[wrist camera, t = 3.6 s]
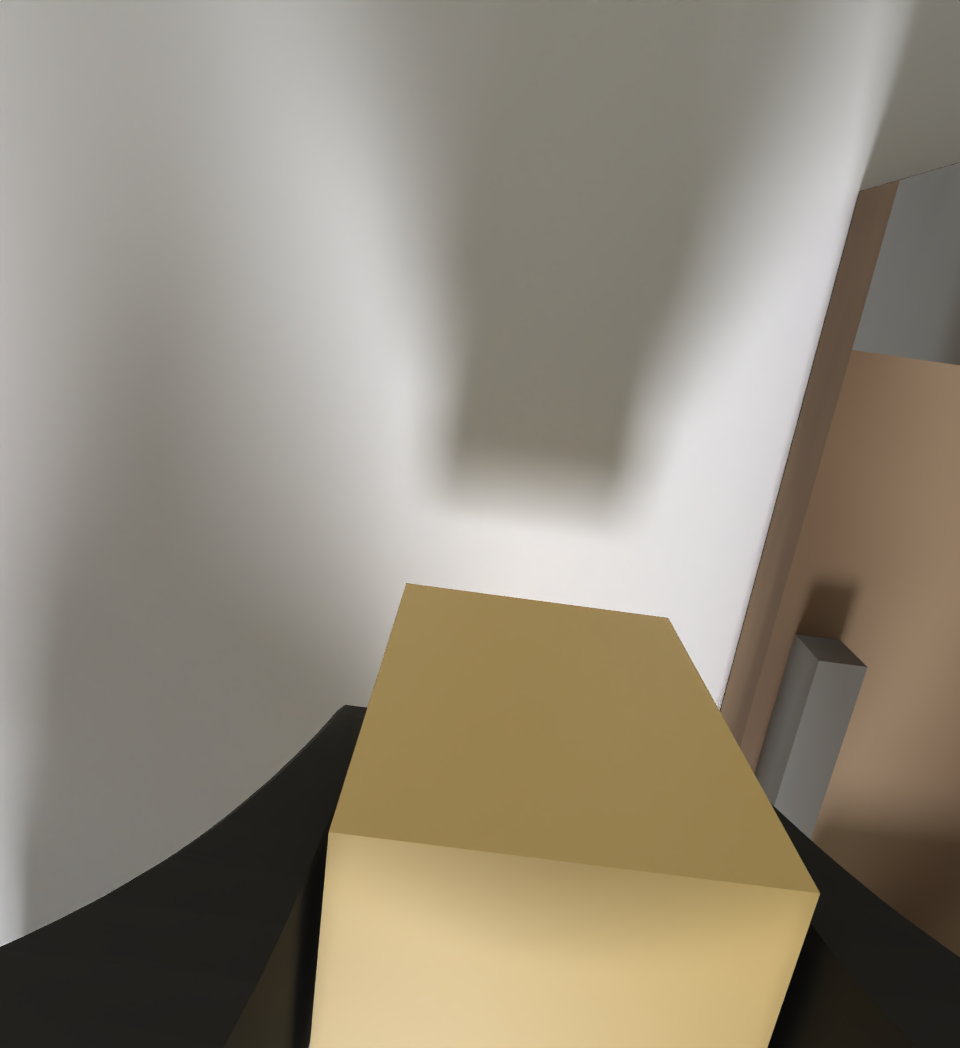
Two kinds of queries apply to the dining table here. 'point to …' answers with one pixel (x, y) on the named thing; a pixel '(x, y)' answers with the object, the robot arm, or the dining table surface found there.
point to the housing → (551, 844)
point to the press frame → (871, 571)
